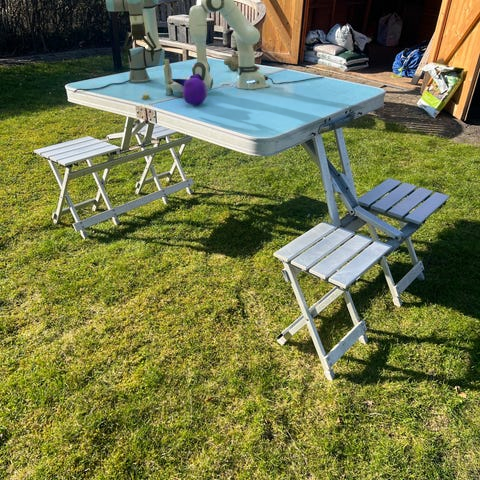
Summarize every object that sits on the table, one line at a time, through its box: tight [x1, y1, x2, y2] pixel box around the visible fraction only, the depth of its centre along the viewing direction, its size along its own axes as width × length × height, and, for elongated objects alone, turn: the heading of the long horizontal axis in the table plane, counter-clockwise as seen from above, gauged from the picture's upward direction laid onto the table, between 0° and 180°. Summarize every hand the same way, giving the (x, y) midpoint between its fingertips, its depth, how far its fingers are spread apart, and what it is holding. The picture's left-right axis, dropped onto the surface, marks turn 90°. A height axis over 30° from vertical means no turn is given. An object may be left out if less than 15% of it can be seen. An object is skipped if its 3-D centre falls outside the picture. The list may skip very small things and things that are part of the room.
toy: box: [172, 74, 208, 106], centre depth 273 cm, size 16×18×27 cm
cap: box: [141, 93, 150, 100], centre depth 289 cm, size 4×4×2 cm
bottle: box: [163, 58, 175, 96], centre depth 293 cm, size 5×5×22 cm
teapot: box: [223, 50, 239, 72], centre depth 366 cm, size 21×12×15 cm, turn 120°
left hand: (141, 61), depth 279 cm, fingers open, 13 cm apart
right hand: (167, 84), depth 295 cm, fingers open, 8 cm apart
